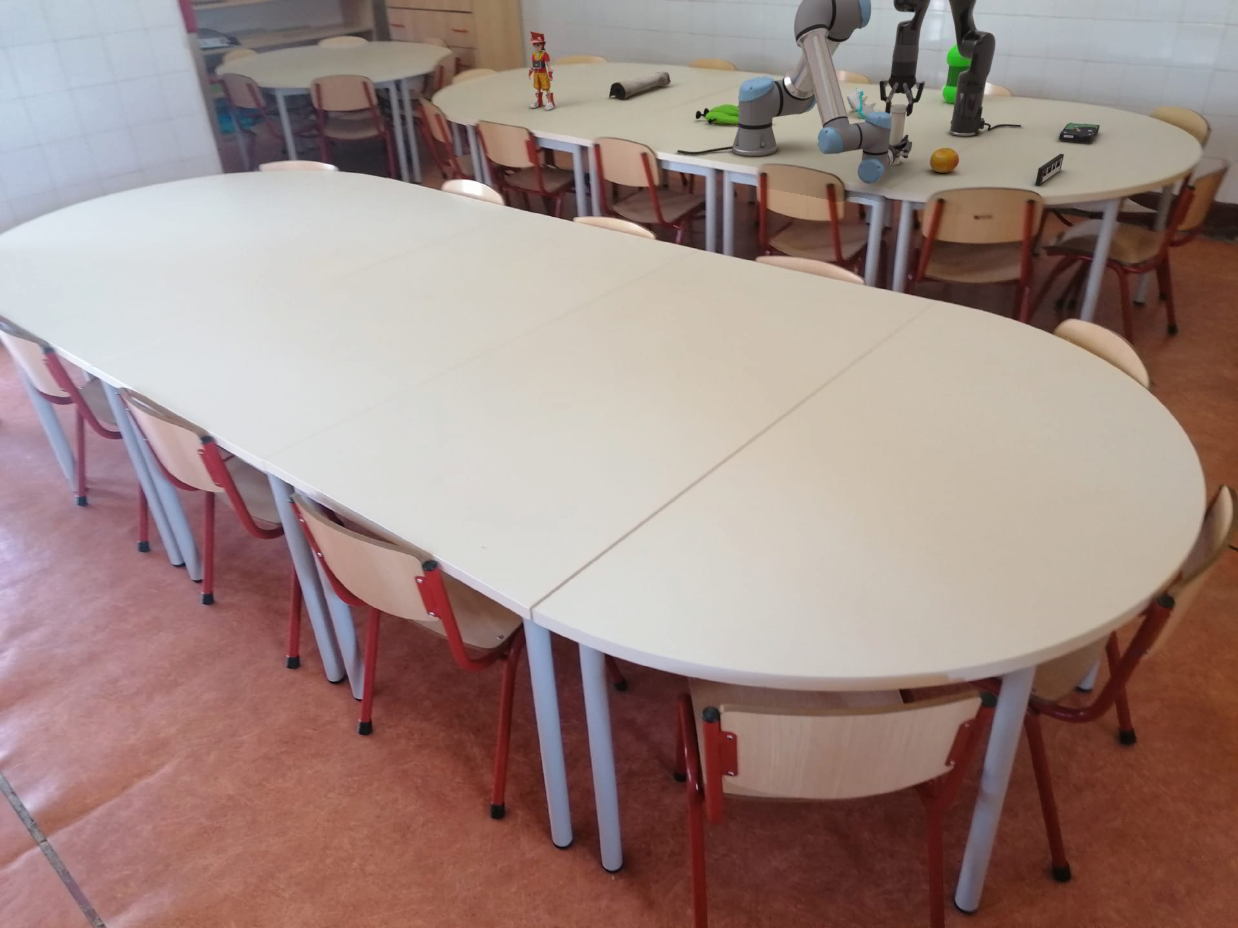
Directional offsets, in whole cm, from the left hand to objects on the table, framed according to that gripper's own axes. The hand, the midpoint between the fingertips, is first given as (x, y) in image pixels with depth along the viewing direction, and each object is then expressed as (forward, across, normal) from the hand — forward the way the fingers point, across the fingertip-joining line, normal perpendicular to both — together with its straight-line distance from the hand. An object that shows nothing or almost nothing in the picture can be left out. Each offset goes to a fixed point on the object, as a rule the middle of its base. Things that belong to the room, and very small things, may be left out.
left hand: (898, 138), depth 296 cm
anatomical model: (+52, -26, -6) cm, 59 cm away
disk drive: (+41, +52, -6) cm, 67 cm away
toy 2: (+30, -68, -6) cm, 75 cm away
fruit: (-10, +17, -6) cm, 21 cm away
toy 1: (+29, -156, -6) cm, 159 cm away
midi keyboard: (-7, +48, -6) cm, 49 cm away
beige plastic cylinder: (-5, 0, -6) cm, 8 cm away
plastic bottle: (+80, +4, -6) cm, 80 cm away
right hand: (-5, 0, +9) cm, 10 cm away
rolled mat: (+65, -127, -6) cm, 143 cm away
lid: (-5, 0, +11) cm, 12 cm away
